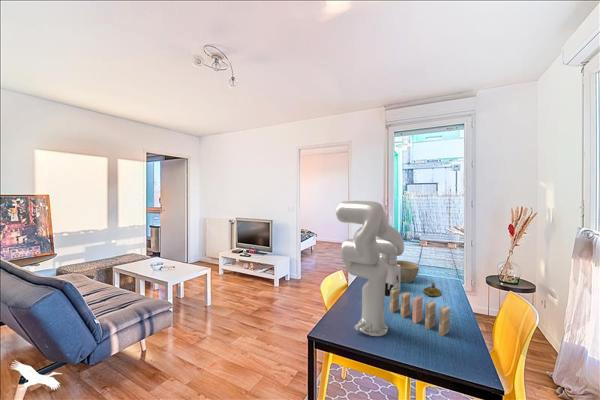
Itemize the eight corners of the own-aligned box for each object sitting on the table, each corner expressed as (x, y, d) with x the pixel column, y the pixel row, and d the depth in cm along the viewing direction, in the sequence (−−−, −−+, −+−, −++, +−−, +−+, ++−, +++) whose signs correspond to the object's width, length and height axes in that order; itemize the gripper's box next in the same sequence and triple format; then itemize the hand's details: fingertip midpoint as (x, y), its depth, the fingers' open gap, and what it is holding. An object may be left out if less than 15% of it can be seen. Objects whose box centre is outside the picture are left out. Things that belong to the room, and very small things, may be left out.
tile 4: (448, 332, 111) (449, 307, 110) (443, 336, 108) (444, 310, 107) (444, 330, 112) (445, 305, 112) (438, 334, 109) (439, 309, 109)
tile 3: (434, 325, 116) (435, 302, 115) (428, 329, 113) (429, 305, 112) (430, 324, 117) (431, 300, 117) (424, 327, 114) (425, 303, 114)
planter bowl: (405, 286, 160) (406, 269, 159) (387, 277, 174) (387, 262, 174) (424, 282, 166) (425, 266, 166) (404, 274, 181) (405, 259, 180)
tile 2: (421, 320, 121) (422, 297, 120) (415, 323, 118) (416, 300, 117) (418, 318, 122) (418, 295, 121) (412, 321, 119) (413, 298, 118)
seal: (440, 301, 143) (441, 291, 156) (441, 293, 142) (442, 284, 155) (421, 295, 147) (424, 286, 160) (423, 288, 147) (425, 279, 160)
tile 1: (409, 314, 125) (410, 292, 125) (403, 317, 123) (404, 295, 122) (406, 313, 127) (407, 291, 126) (400, 316, 124) (401, 294, 123)
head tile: (398, 309, 130) (399, 288, 130) (392, 312, 127) (393, 291, 127) (395, 308, 132) (396, 287, 131) (389, 311, 129) (390, 289, 128)
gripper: (372, 257, 135) (371, 292, 136) (398, 265, 123) (396, 302, 124) (380, 255, 139) (380, 288, 140) (406, 262, 127) (405, 298, 128)
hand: (387, 295), depth 132 cm, fingers closed
